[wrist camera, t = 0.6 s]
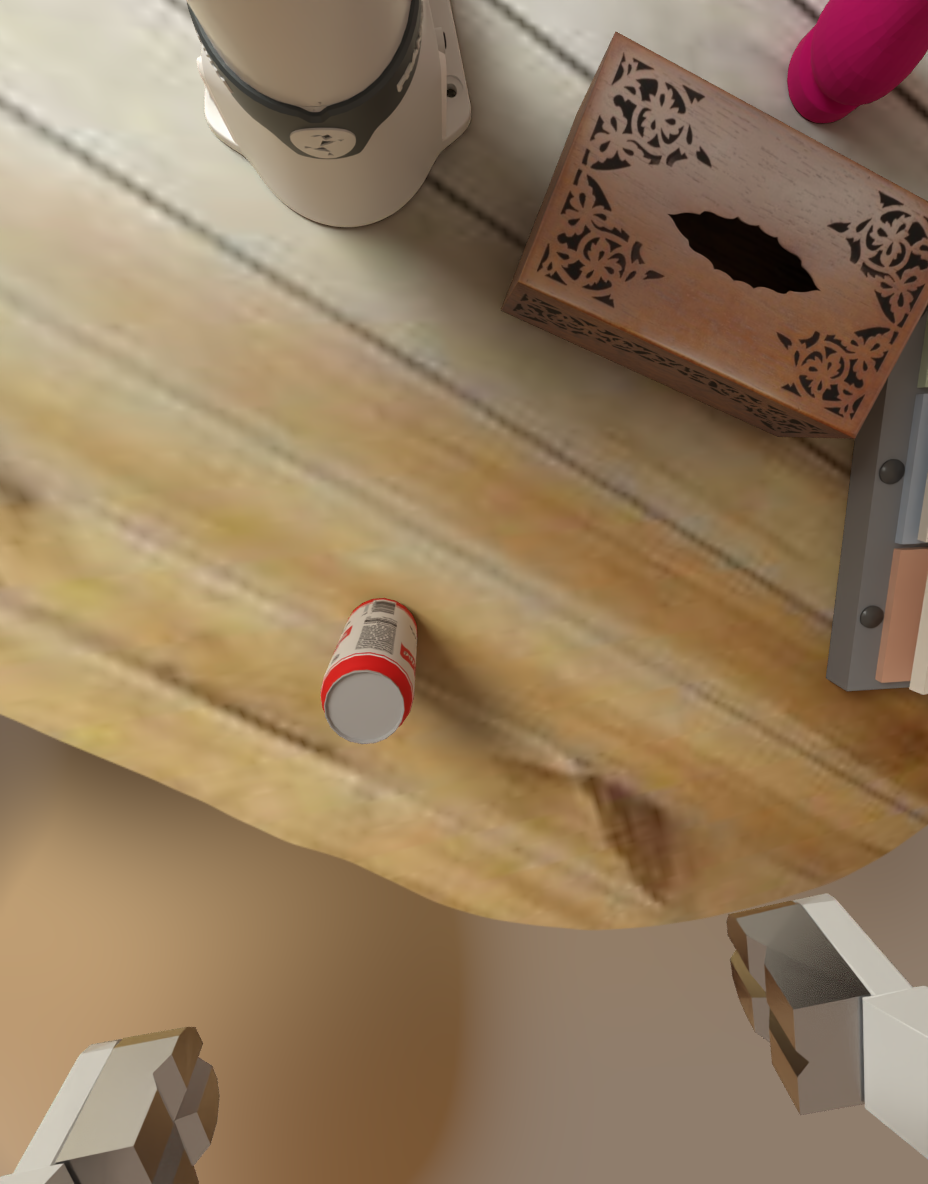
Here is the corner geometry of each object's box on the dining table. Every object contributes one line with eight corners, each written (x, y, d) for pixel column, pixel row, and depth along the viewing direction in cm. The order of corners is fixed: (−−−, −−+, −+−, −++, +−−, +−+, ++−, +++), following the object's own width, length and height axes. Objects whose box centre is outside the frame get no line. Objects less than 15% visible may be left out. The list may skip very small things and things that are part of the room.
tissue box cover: (864, 264, 49) (970, 224, 39) (776, 436, 52) (854, 438, 43) (575, 115, 45) (615, 31, 36) (500, 310, 48) (517, 281, 39)
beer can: (420, 597, 54) (417, 665, 38) (415, 664, 55) (409, 755, 40) (348, 592, 53) (316, 658, 38) (345, 659, 55) (313, 749, 40)
